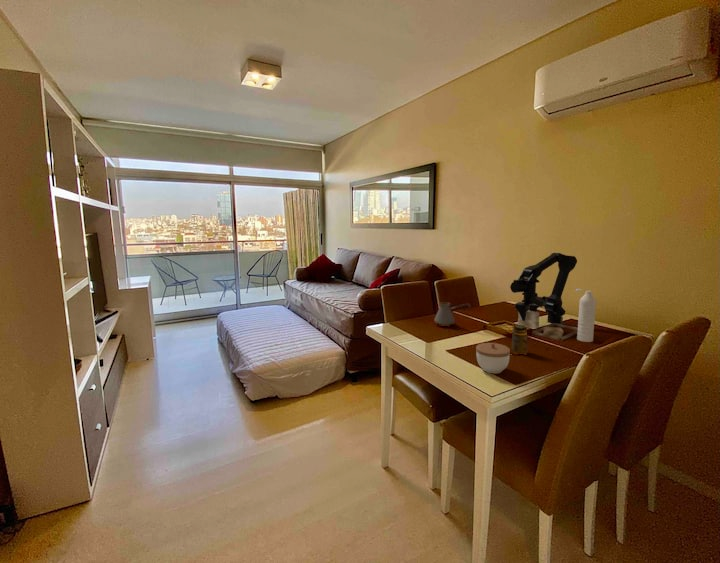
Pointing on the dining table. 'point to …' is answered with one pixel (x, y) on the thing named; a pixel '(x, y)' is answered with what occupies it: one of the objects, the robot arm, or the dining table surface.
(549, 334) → the offcut
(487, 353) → the lidded bowl
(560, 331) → the offcut
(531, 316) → the pale grey rectangular block
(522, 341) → the condiment
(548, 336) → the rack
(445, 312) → the coffee pot
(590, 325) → the water bottle
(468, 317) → the dining table surface
